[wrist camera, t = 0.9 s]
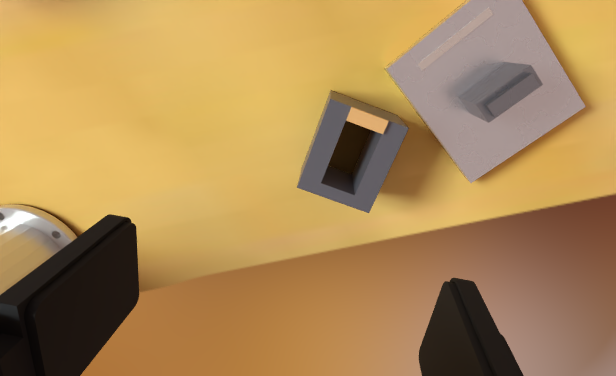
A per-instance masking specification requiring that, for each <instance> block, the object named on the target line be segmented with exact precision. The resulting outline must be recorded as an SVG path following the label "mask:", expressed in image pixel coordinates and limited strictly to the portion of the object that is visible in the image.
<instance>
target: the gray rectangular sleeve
mask: <svg viewBox="0 0 616 376" xmlns="http://www.w3.org/2000/svg"><path fill="white" fill-rule="evenodd" d="M346 121H348V122H351V123H354V124H357V125H359V126H362V127H365V128H367V129H370V130H371V131H370V133H369V135H368V138H367V140H366V142H365V145H364V147H363V149H362V152H361V154H360V156H359V158H358V161H357V163H356V165H355V168H354V170H353V172H352V174H350V173H347V172H345V171H342V170H339V169H336V168H334V167H331V166H328V164H329V162H330V159H331V157H332V154H333V152H334V149H335V147H336V144H337V142H338V139H339V137H340V134H341V132H342V129H343V127H344V124H345V122H346ZM408 129H409V128H408V127H407V126H406V125H405V123H404V122H403V121H402V120H401V119H400V118H399V117H398V115H395V114H392V113H390V112H387V111H384V110H382V109H379V108H376V107H374V106H371V105H368V104H366V103H363V102H361V101H358V100H355V99H353V98H350V97H347V96H345V95H342V94H339V93H337V92H334V91H330V94H329V96H328V99H327V102H326V104H325V107H324V110H323V112H322V115H321V118H320V120H319V123H318V126H317V129H316V131H315V134H314V137H313V139H312V142H311V145H310V147H309V150H308V153H307V155H306V158H305V161H304V163H303V166H302V170H301V174H300V178H299V182H298V186H297V188H300V189H302V190H305V191H308V192H311V193H314V194H317V195H319V196H322V197H325V198H328V199H331V200H333V201H336V202H339V203H342V204H345V205H347V206H350V207H353V208H356V209H359V210H361V211H364V212H367V213H369V212H370V210H371V208H372V206H373V203H374V201H375V199H376V197H377V195H378V193H379V191H380V188H381V186H382V184H383V182H384V180H385V178H386V176H387V174H388V171H389V169H390V167H391V165H392V163H393V161H394V159H395V156H396V154H397V152H398V150H399V148H400V146H401V144H402V142H403V139H404V137H405V135H406V133H407V131H408Z"/></svg>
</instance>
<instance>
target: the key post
mask: <svg viewBox="0 0 616 376" xmlns="http://www.w3.org/2000/svg"><path fill="white" fill-rule="evenodd" d="M384 69H385V70H386V71H387V73H388V74H389V75H390V77H391V78H392V80H393V81H394V82H395V84H396V85H397V86H398V88H399V89H400V90H401V92H402V93H403V94H404V96H405V97H406V98H407V100H408V101H409V102H410V104H411V105H412V106H413V108H414V109H415V110H416V112H417V113H418V115H419V116H420V117H421V119H422V120H423V121H424V123H425V124H426V125H427V127H428V128H429V129H430V131H431V132H432V133H433V135H434V136H435V137H436V139H437V140H438V141H439V143H440V144H441V145H442V147H443V148H444V150H445V151H446V152H447V154H448V155H449V156H450V158H451V159H452V160H453V162H454V163H455V164H456V166H457V167H458V168H459V170H460V171H461V172H462V174H463V175H464V176H465V178H466V179H467V180H468V181H469V182H470V183H472V182H473V181H475V180H476V179H478V178H479V177H481V176H482V175H484V174H485V173H487V172H488V171H490V170H491V169H493V168H494V167H496V166H497V165H499V164H500V163H502V162H503V161H505V160H506V159H508V158H509V157H511V156H512V155H514V154H515V153H517V152H518V151H520V150H521V149H523V148H524V147H526V146H527V145H529V144H530V143H532V142H533V141H535V140H536V139H538V138H539V137H541V136H542V135H544V134H545V133H547V132H548V131H550V130H551V129H553V128H554V127H556V126H557V125H559V124H560V123H562V122H563V121H565V120H567V119H568V118H570V117H571V116H573V115H574V114H576V113H577V112H579V111H580V110H582V109H583V108H585V107H586V106H585V105H584V103H583V101H582V100H581V98H580V96H579V95H578V93H577V91H576V90H575V88H574V86H573V85H572V83H571V81H570V80H569V78H568V76H567V75H566V73H565V71H564V70H563V68H562V66H561V65H560V63H559V61H558V60H557V58H556V56H555V55H554V53H553V51H552V50H551V48H550V46H549V44H548V43H547V41H546V39H545V38H544V36H543V34H542V33H541V31H540V29H539V28H538V26H537V24H536V23H535V21H534V19H533V18H532V16H531V14H530V13H529V11H528V9H527V8H526V6H525V4H524V3H523V1H522V0H466V1H465V2H464V3H462V4H461V5H460V6H459V7H457V8H456V9H455V10H454V11H453V12H451V13H450V14H449V15H448V16H447V17H445V18H444V19H443V20H442V21H440V22H439V23H438V24H437V25H436V26H434V27H433V28H432V29H431V30H430V31H428V32H427V33H426V34H425V35H424V36H422V37H421V38H420V39H419V40H417V41H416V42H415V43H414V44H413V45H411V46H410V47H409V48H408V49H407V50H405V51H404V52H403V53H402V54H401V55H399V56H398V57H397V58H396V59H394V60H393V61H392V62H391V63H390V64H388V65H387V66H386V67H385V68H384Z"/></svg>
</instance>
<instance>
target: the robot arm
mask: <svg viewBox="0 0 616 376" xmlns="http://www.w3.org/2000/svg"><path fill="white" fill-rule="evenodd" d="M138 297H139V281H138V258H137V236H136V226H135V224H133V223H131V220H130V219H129V218H127V217H122V216H116V215H107V216H105V217H104V218H103V219H101V220H100V221H99V222H97V223H96V224H95V225H93V226H92V227H91V228H89V229H88V230H87V231H85V232H84V233H83V234H81V235H80V236H79V237H77V236H76V235H75V234H74V232H73V231H72V230H70V229H69V228H68V227H67V226H66V225H65V224H64V223H63V222H61V221H60V220H58V219H57V218H55V217H54V216H52V215H50V214H48V213H46V212H44V211H42V210H39V209H36V208H33V207H30V206H24V205H18V204H12V205H2V206H0V376H80V375H81V374H82V372H83V371H84V370H85V369H86V367H87V366H88V365H89V364H90V362H91V361H92V360H93V359H94V357H95V356H96V355H97V354H98V352H99V351H100V350H101V349H102V347H103V346H104V345H105V344H106V342H107V341H108V340H109V338H110V337H111V336H112V335H113V333H114V332H115V331H116V330H117V328H118V327H119V326H120V324H121V323H122V322H123V321H124V320H125V318H126V317H127V316H128V315H129V313H130V312H131V311H132V309H133V308H134V307H135V305H136V304H137V301H138ZM419 363H420V368H421V372H422V376H523V374H522V372H521V370H520V368H519V366H518V364H517V362H516V360H515V358H514V356H513V354H512V352H511V350H510V348H509V346H508V344H507V342H506V340H505V338H504V337H503V336H502V335H501V334H500V333H499V331H498V329H497V327H496V325H495V323H494V321H493V319H492V317H491V315H490V313H489V311H488V309H487V306H486V304H485V303H484V300H483V299H482V296H481V294H480V292H479V290H478V289H477V286H476V284H475V283H474V282H473V281H469V280H463V279H458V278H452V279H451V280H450V282H444V283H443V286H442V288H441V291H440V294H439V297H438V299H437V302H436V305H435V308H434V311H433V313H432V316H431V319H430V322H429V325H428V328H427V330H426V333H425V336H424V339H423V341H422V344H421V347H420V350H419Z"/></svg>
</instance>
